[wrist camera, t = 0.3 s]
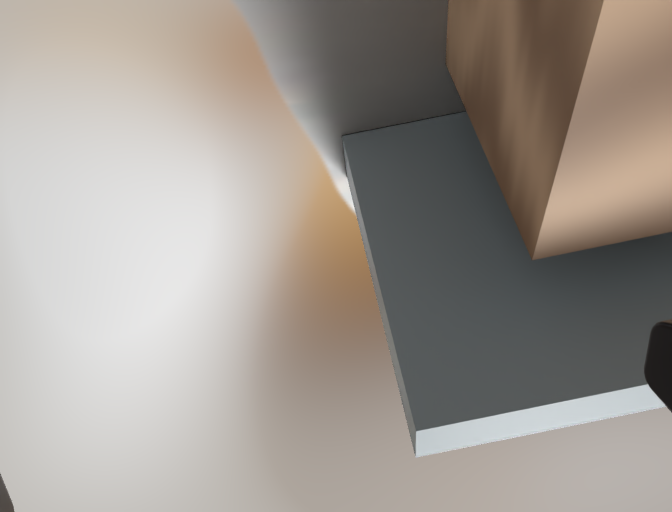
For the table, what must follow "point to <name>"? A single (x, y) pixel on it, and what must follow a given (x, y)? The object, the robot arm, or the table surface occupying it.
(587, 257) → the slate board
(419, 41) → the table surface
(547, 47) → the walnut block
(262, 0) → the table surface
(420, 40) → the table surface
